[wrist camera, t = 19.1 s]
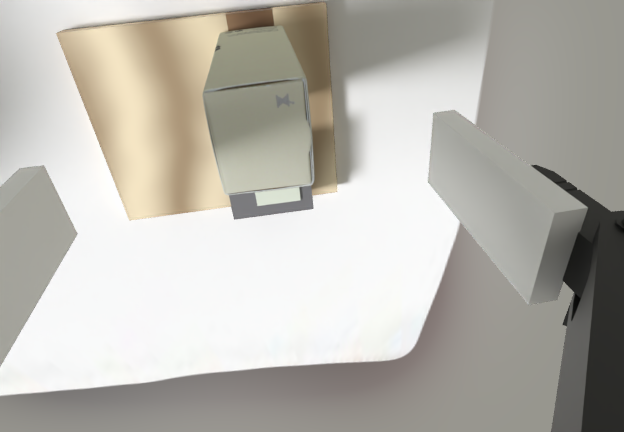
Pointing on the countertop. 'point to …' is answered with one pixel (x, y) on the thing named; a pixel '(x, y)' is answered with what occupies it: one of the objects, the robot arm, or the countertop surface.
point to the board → (184, 102)
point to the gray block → (271, 202)
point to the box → (259, 112)
